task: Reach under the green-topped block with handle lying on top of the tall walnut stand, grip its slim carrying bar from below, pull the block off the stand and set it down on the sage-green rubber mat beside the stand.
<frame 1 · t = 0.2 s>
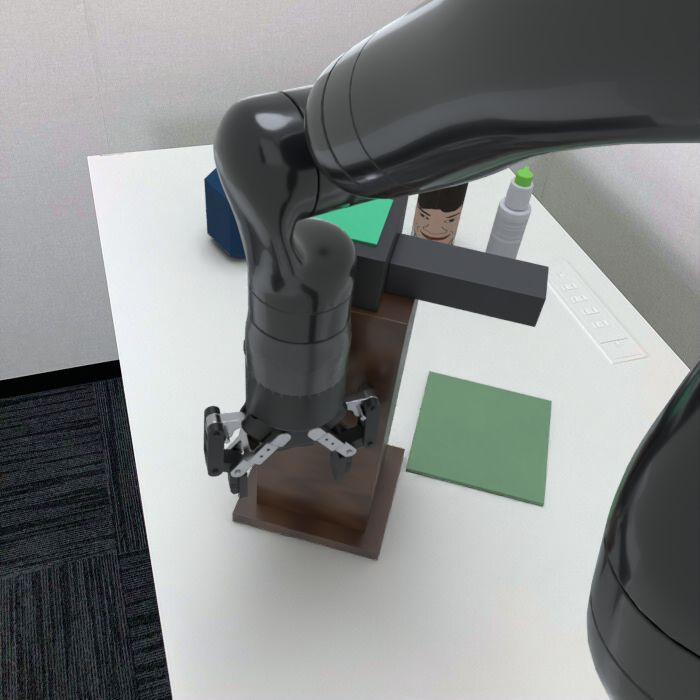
hand: (289, 480, 65), 15 cm above the table, tool pointing down, fingers open, 8 cm apart
printed can: (429, 252, 114), on the table
stand: (321, 487, 83), on the table
eyeglasses: (313, 333, 100), on the table
green-topped block with handle: (335, 264, 60), point 32 cm above the table, touching stand
bottle: (489, 290, 109), on the table
mat: (482, 435, 90), on the table
radio: (277, 231, 115), on the table
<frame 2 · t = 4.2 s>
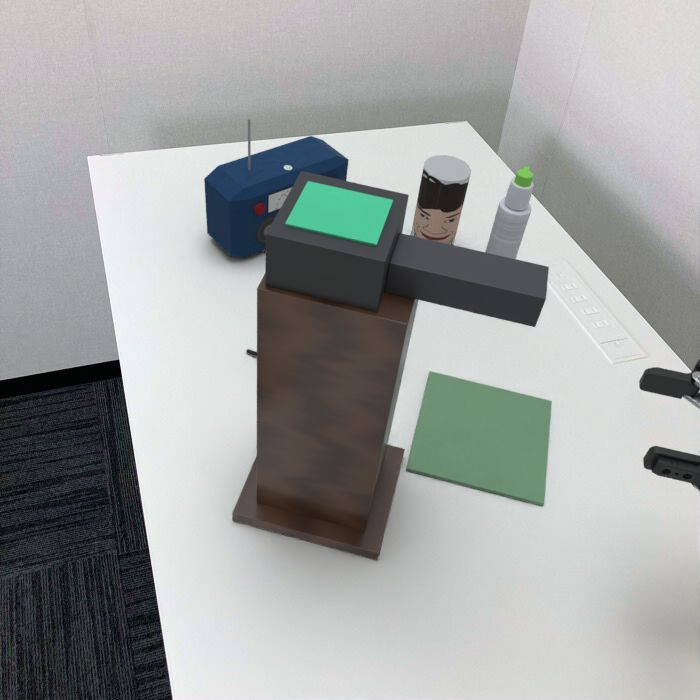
hand: (644, 415, 61), 25 cm above the table, tool horizontal, fingers open, 8 cm apart
nothing on the table moved.
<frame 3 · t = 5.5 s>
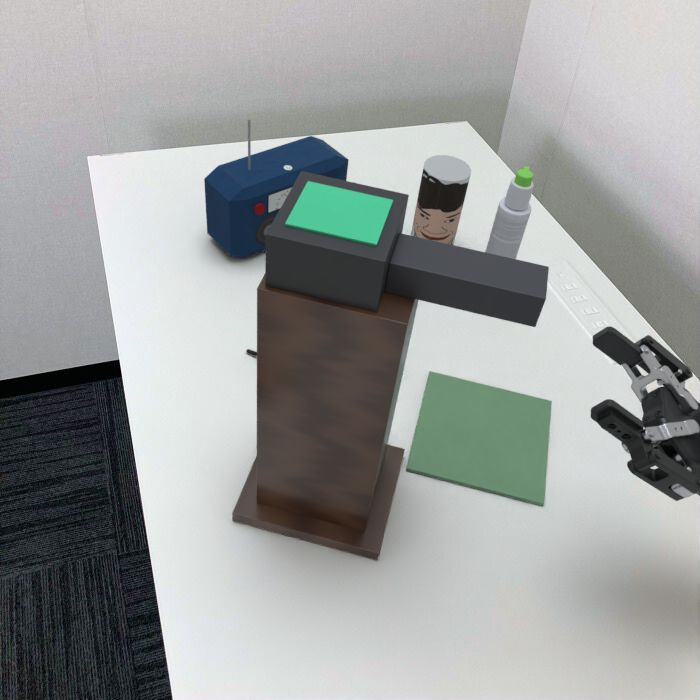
hand: (599, 368, 61), 28 cm above the table, tool pointing upward, fingers open, 8 cm apart
nothing on the table moved.
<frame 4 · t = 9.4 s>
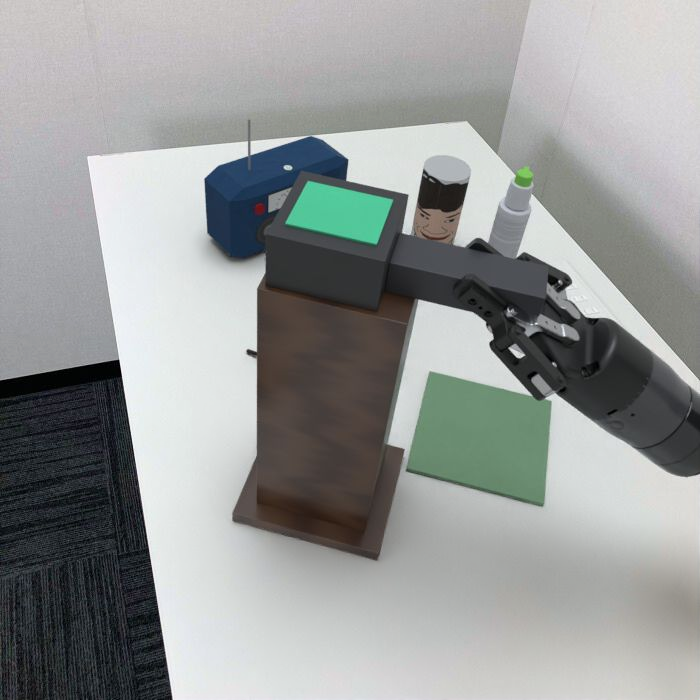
hand: (465, 264, 57), 35 cm above the table, tool pointing upward, fingers closed on green-topped block with handle, 4 cm apart
green-topped block with handle: (335, 263, 60), point 32 cm above the table, touching gripper, stand
everything else where it was.
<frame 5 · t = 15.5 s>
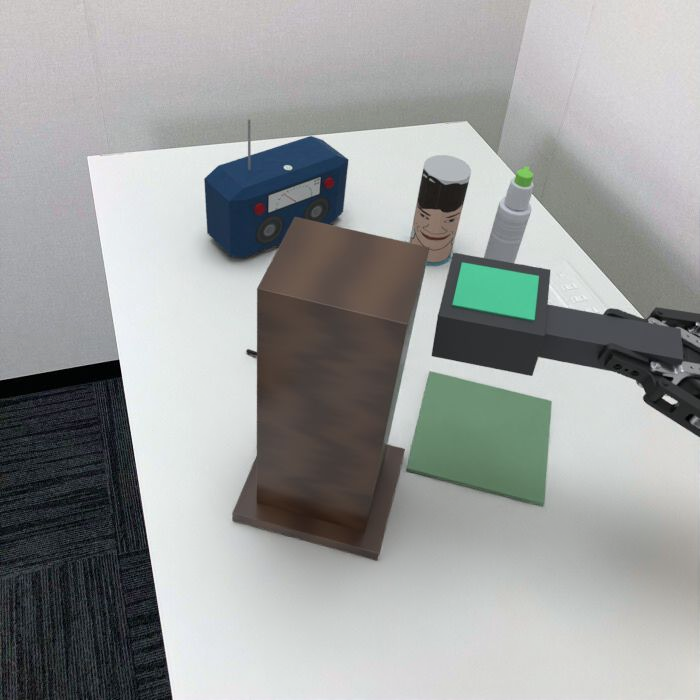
hand: (603, 335, 65), 26 cm above the table, tool horizontal, fingers closed on green-topped block with handle, 4 cm apart
green-topped block with handle: (487, 332, 68), point 23 cm above the table, touching gripper
everything else where it was.
when the fingers open (7 cm above the table, at t = 21.4 s): green-topped block with handle drops 2 cm, resting on mat.
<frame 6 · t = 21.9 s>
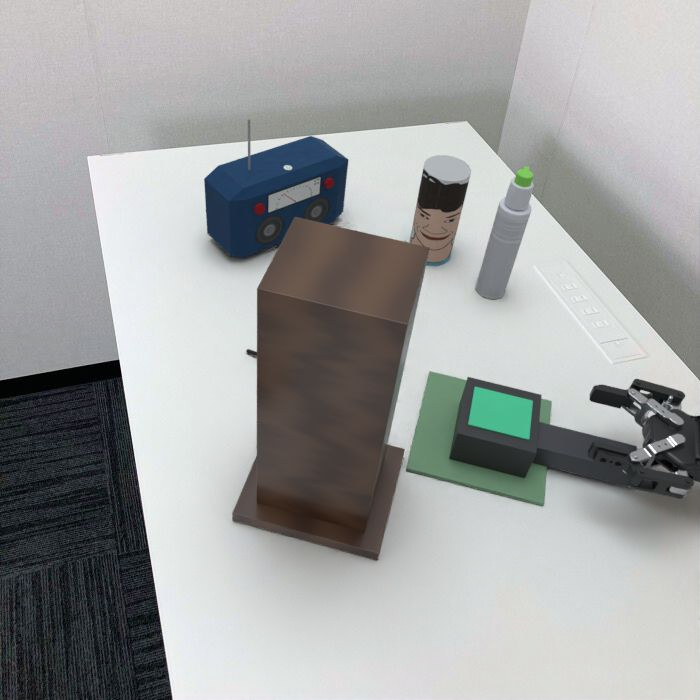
hand: (590, 420, 82), 8 cm above the table, tool horizontal, fingers open, 8 cm apart
green-topped block with handle: (490, 439, 89), resting on mat
everything else where it was.
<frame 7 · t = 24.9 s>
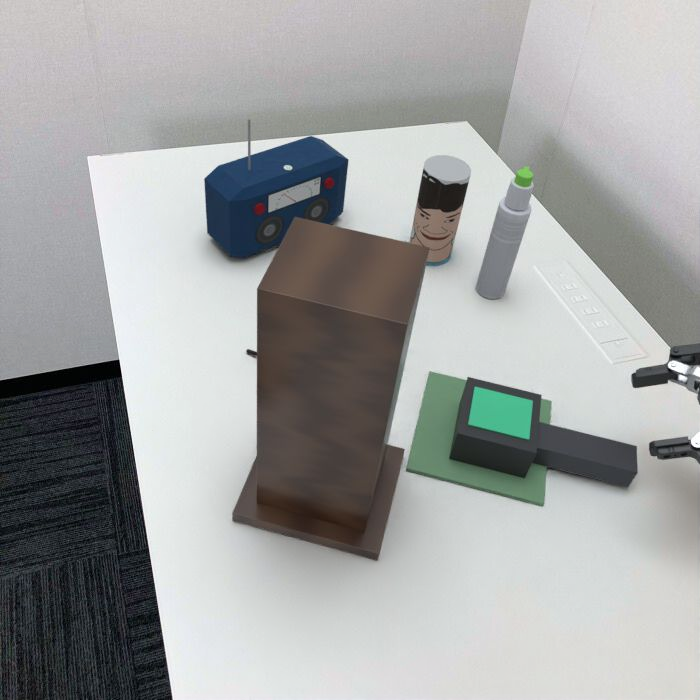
hand: (640, 414, 79), 12 cm above the table, tool tilted 70°, fingers open, 8 cm apart
nothing on the table moved.
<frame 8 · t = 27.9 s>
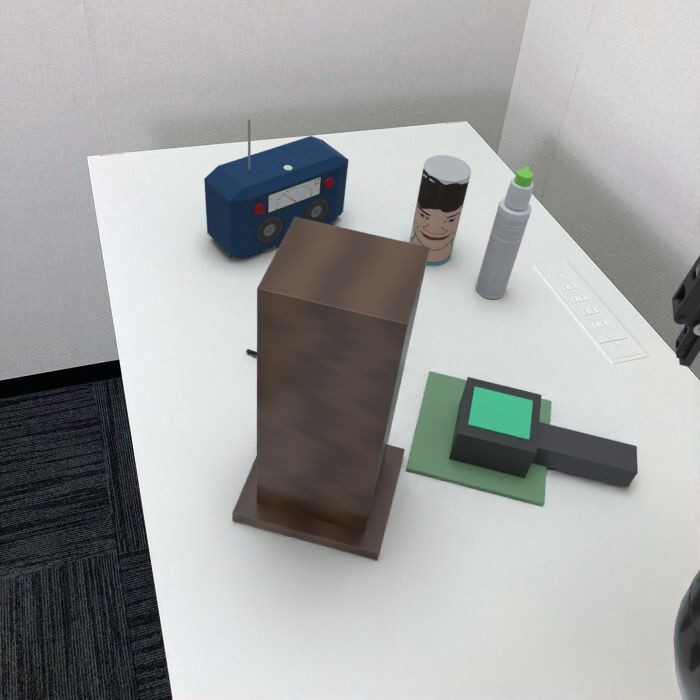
nothing on the table moved.
at the end: green-topped block with handle inside the target area on the mat (1.3 cm from its centre), point 0.5 cm above the mat's base; green-topped block with handle touching mat; the gripper is holding nothing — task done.
